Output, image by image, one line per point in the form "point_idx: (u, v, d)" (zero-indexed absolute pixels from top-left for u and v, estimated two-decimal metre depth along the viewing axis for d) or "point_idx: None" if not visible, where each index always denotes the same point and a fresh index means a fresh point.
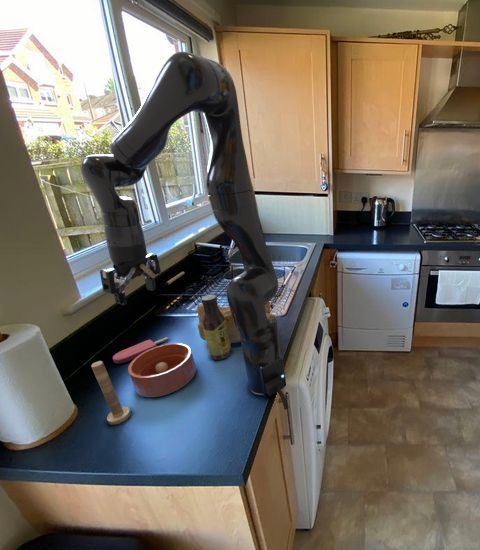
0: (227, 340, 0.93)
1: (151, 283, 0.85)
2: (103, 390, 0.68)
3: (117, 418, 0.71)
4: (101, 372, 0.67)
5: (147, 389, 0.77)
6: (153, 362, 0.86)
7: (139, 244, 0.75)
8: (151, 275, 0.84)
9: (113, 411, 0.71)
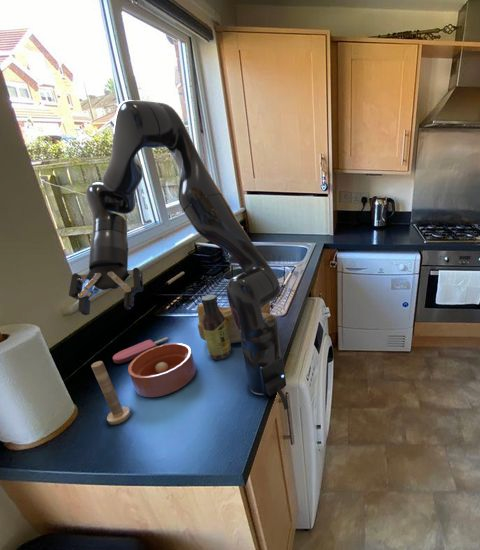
0: (227, 340, 0.93)
1: None
2: (103, 390, 0.68)
3: (117, 418, 0.71)
4: (101, 372, 0.67)
5: (147, 389, 0.77)
6: (153, 362, 0.86)
7: (102, 246, 0.76)
8: (125, 288, 0.76)
9: (113, 411, 0.71)
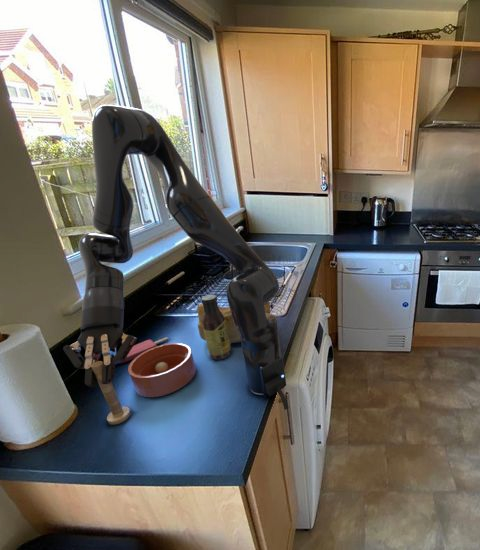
0: (227, 340, 0.93)
1: (103, 372, 0.67)
2: (103, 390, 0.68)
3: (117, 418, 0.71)
4: (101, 372, 0.67)
5: (147, 389, 0.77)
6: (153, 362, 0.86)
7: (95, 306, 0.69)
8: (105, 359, 0.68)
9: (113, 411, 0.71)
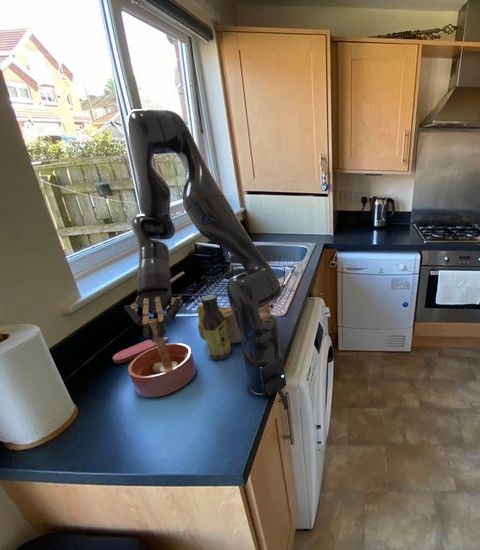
0: (227, 340, 0.93)
1: (158, 327, 0.79)
2: (157, 343, 0.81)
3: (168, 369, 0.84)
4: (156, 327, 0.79)
5: (147, 389, 0.77)
6: (153, 362, 0.86)
7: (149, 273, 0.81)
8: (159, 316, 0.80)
9: (165, 362, 0.83)
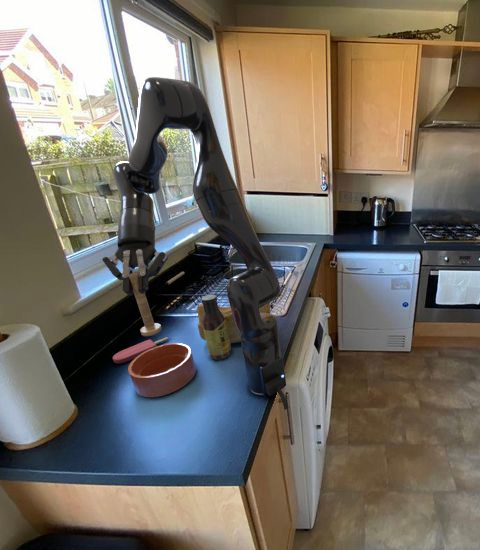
0: (227, 340, 0.93)
1: (139, 282, 0.72)
2: (138, 301, 0.74)
3: (150, 330, 0.77)
4: (137, 282, 0.73)
5: (147, 389, 0.77)
6: (153, 362, 0.86)
7: (131, 223, 0.74)
8: (141, 270, 0.73)
9: (146, 323, 0.76)
